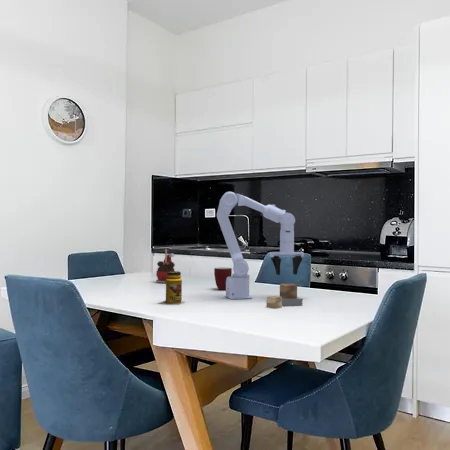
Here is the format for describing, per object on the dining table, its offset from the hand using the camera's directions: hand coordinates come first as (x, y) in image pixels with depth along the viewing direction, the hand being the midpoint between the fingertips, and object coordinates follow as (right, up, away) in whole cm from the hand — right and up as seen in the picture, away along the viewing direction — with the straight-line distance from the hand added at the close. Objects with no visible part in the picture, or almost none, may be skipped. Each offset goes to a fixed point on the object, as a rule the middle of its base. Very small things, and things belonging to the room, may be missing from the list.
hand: (286, 274), depth 194 cm
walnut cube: (-1, -7, -14) cm, 16 cm away
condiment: (-46, -10, -14) cm, 49 cm away
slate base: (-1, -10, -14) cm, 17 cm away
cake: (-56, -9, +47) cm, 74 cm away
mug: (-27, -10, +24) cm, 38 cm away
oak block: (-7, -10, -21) cm, 24 cm away
